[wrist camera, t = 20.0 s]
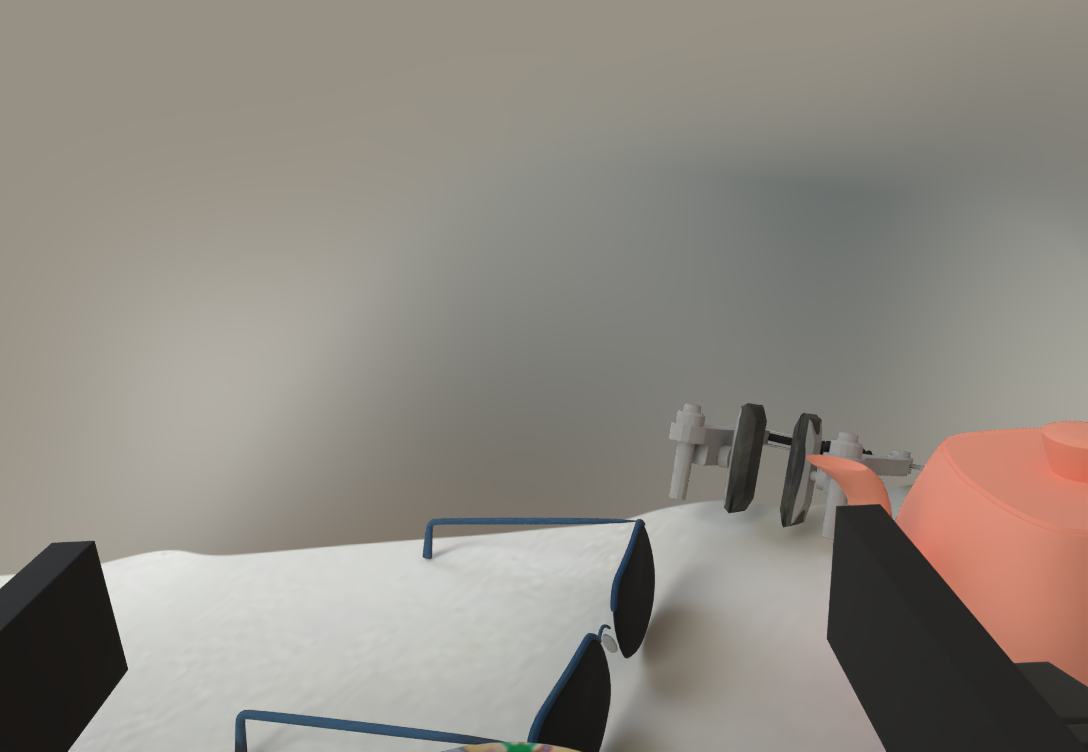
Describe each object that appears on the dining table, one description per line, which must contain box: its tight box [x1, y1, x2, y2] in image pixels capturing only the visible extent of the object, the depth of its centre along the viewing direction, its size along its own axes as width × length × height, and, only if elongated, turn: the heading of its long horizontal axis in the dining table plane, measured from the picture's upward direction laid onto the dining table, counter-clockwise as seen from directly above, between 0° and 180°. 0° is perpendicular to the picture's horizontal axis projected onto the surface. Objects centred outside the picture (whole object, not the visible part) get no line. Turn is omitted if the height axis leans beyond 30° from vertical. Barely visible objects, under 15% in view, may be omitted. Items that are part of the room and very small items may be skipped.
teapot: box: [806, 421, 1088, 687], centre depth 33 cm, size 13×20×12 cm, turn 90°
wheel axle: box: [669, 403, 924, 540], centre depth 53 cm, size 14×7×20 cm
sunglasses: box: [235, 518, 655, 752], centre depth 39 cm, size 17×15×5 cm
